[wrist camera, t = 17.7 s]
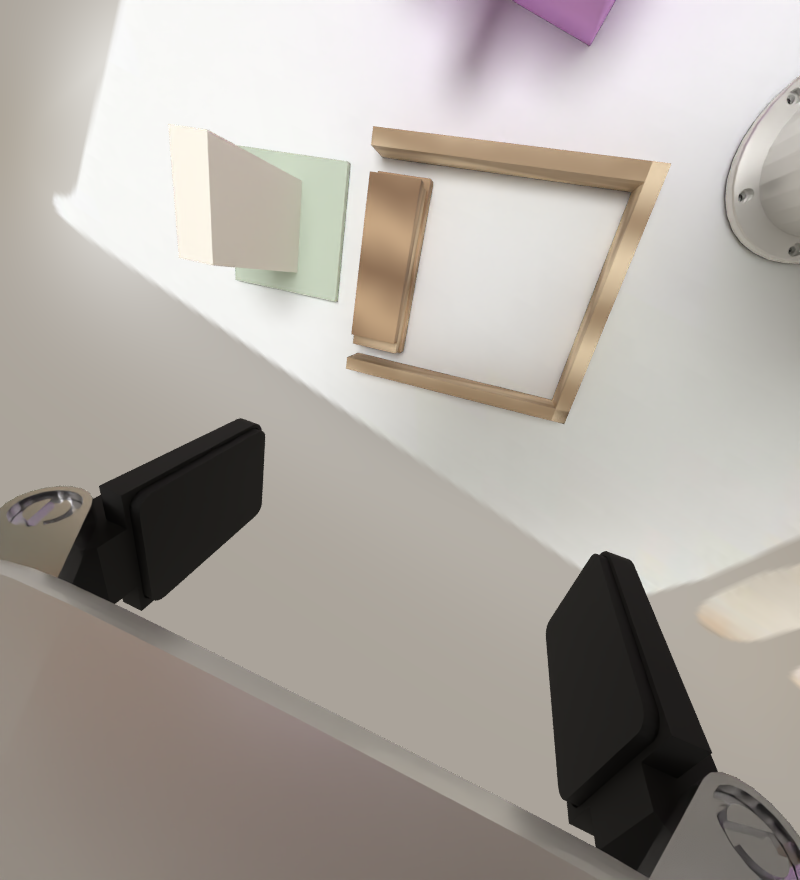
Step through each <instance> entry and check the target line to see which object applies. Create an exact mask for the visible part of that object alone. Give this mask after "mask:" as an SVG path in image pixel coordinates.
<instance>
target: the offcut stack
mask: <svg viewBox="0 0 800 880" xmlns="http://www.w3.org/2000/svg"><path fill="white" fill-rule="evenodd" d="M432 187H433V181H432V180H431V179H428V178H421V177H415V176H408V175H401V174H394V173H387V172H381V171H378V173H377V172H370V176H369V185H368V193H367V202H366V211H365V220H364V228H363V237H362V246H361V255H360V264H359V272H358V281H357V290H356V299H355V308H354V316H353V325H352V334H353V335H354V339H353V343H354V344H358V345H362V346H366V347H370V348H375V349H379V350H383V351H387V352H391V353H397V352H398V353H401V352H403V349H404V344H405V338H406V333H407V327H408V321H409V316H410V310H411V305H412V299H413V293H414V288H415V282H416V277H417V271H418V265H419V260H420V254H421V249H422V243H423V238H424V232H425V226H426V221H427V215H428V210H429V204H430V198H431V193H432Z"/></svg>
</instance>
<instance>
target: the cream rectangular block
mask: <svg viewBox="0 0 800 880" xmlns="http://www.w3.org/2000/svg"><path fill="white" fill-rule="evenodd" d="M168 127H169V140H170V152H171V165H172V177H173V190H174V202H175V215H176V227H177V240H178V252H179V258H182V259H186V260H191V261H195V262H200V263H204V264H209V265H214V266H225V267H237V268H249V269H260V270H272V271H283V272H295V273H297V272H298V252H299V233H300V213H301V193H302V181H301V180H300V179H298V178H296V177H294V176H292V175H290V174H288V173H287V172H285V171H283V170H281V169H279V168H277V167H275V166H274V165H272V164H270V163H268V162H266V161H264V160H262V159H261V158H259V157H257V156H255V155H253V154H251V153H250V152H248V151H246V150H244V149H242V148H240V147H238V146H237V145H235V144H233V143H231V142H229V141H227V140H225V139H224V138H222V137H220V136H218V135H216V134H214V133H212V132H211V131H209V130H206V129H200V128H193V127H186V126H179V125H172V124H168Z"/></svg>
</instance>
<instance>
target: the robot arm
mask: <svg viewBox="0 0 800 880" xmlns="http://www.w3.org/2000/svg"><path fill="white" fill-rule="evenodd" d="M787 98H789V99H790V104H788V102H787ZM739 194H740V195H742V200H741V201H739V199H738V197H739ZM725 201H726V210H727V217H728V220H729V222H730V225H731V228H732V230H733V232H734V233H735V235H736V236H737V238H738V239H739V240H740V242H741V243H742V244H743V245H744V246H746V247H747V248H748V249H749V250H751V251H752V252H753V253H755V254H757V255H759V256H761V257H764V258H766V259H768V260H772V261H777V262H782V263H795V264H800V76H799V77H797V78H796V79H795V80H793V81H792V82H791V83H790V84H789V85H788V86H787V87H786V88H785V89H784V90H783V91H781V92H780V93H779V94H778V95H777V96H776V97H775V98H774V99H773V100H772V101H771V102H770V103H769V105H768V106H767V107H766V108H765V109H764V110H763V112H762V113H761V114H760V115H759V116H758V117H757V119H756V120H755V122H754V123H753V125H752V126H751V128H750V129H749V131H748V132H747V134H746V135H745V137H744V138H743V140H742V142H741V144H740V146H739V148H738V151H737V153H736V155H735V157H734V159H733V162H732V165H731V169H730V172H729V176H728V179H727V186H726V196H725ZM789 248H791V252H790V253H788V252H789ZM264 449H265V434H264V432H263V431H262V430H261V427H260V425H258V424H255V423H253V422H250V421H247V420H244V419H241V418H240V419H237V420H235V421H233V422H230V423H228V424H226V425H224V426H222V427H220V428H218V429H216V430H214V431H212V432H210V433H208V434H206V435H203V436H201V437H199V438H197V439H195V440H193V441H191V442H189V443H187V444H185V445H183V446H181V447H179V448H177V449H175V450H173V451H171V452H169V453H166V454H164V455H162V456H160V457H158V458H156V459H154V460H152V461H150V462H148V463H146V464H143V465H142V466H139V467H137V468H135V469H133V470H131V471H129V472H127V473H125V474H123V475H121V476H119V477H117V478H115V479H113V480H110V481H108V482H106V483H104V484H102V485H100V486H99V488H100V493H101V495H100V496H98V497H96V498H94V499H93V498H92V496H91V494H90V493H89V492H88V491H86V490H84V489H82V488H77V487H73V486H56V487H47V488H42V489H38V490H34V491H30V492H28V493H25V494H22V495H20V496H17V497H15V498H14V499H12V500H10V501H8V502H7V503H5V504H4V505H3V506H2V507H1V508H0V880H800V837H799V835H798V834H797V833H796V831H795V830H794V829H793V827H792V826H791V824H790V823H789V822H788V821H787V820H786V819H785V818H784V817H783V816H782V814H781V813H780V812H779V811H778V810H777V809H776V808H775V807H774V806H773V805H772V804H771V803H770V802H769V801H768V800H766V798H764V797H763V796H762V795H761V794H760V793H758V792H757V791H756V790H755V789H754V788H753V787H751V786H749V785H748V784H746V783H744V782H743V781H741V780H740V779H738V778H737V777H734V776H731V775H729V774H726V773H723V772H718V771H717V768H716V766H715V764H714V761H713V759H712V756H711V753H712V752H711V749H710V747H709V744H708V742H707V739H706V737H705V735H704V733H703V730H702V727H701V725H700V723H699V720H698V718H697V715H696V713H695V711H694V708H693V706H692V703H691V701H690V699H689V696H688V694H687V692H686V689H685V687H684V684H683V682H682V679H681V677H680V675H679V672H678V670H677V667H676V665H675V663H674V660H673V658H672V656H671V653H670V651H669V648H668V646H667V643H666V641H665V639H664V636H663V634H662V631H661V629H660V627H659V624H658V622H657V620H656V617H655V615H654V612H653V610H652V607H651V605H650V602H649V600H648V598H647V595H646V593H645V590H644V588H643V586H642V583H641V581H640V578H639V576H638V574H637V571H636V569H635V566H634V564H633V563H632V561H631V560H629V559H626V558H623V557H621V556H618V555H615V554H612V553H610V552H607V551H604V552H602V553H601V554H600V555H598V554H593V555H592V556H591V557H590V559H589V560H588V562H587V563H586V565H585V567H584V568H583V570H582V571H581V573H580V574H579V576H578V578H577V579H576V580H575V582H574V584H573V585H572V587H571V588H570V590H569V591H568V593H567V594H566V596H565V598H564V599H563V601H562V602H561V604H560V605H559V607H558V608H557V610H556V611H555V613H554V614H553V616H552V617H551V619H550V621H549V622H548V625H547V629H546V642H547V655H548V668H549V680H550V692H551V704H552V717H553V729H554V741H555V753H556V766H557V777H558V788H559V793H560V796H561V797H562V799H563V800H565V801H567V808H568V818H569V824H571V825H573V826H575V827H577V828H579V829H581V830H583V831H585V832H587V833H589V834H591V835H593V836H594V838H595V845H596V847H594V846H592V845H590V844H588V843H586V842H584V841H583V840H581V839H578V838H577V837H575V836H573V835H571V834H569V833H567V832H566V831H564V830H562V829H560V828H558V827H556V826H554V825H552V824H550V823H549V822H547V821H545V820H543V819H541V818H539V817H537V816H535V815H533V814H531V813H530V812H528V811H526V810H524V809H522V808H520V807H518V806H516V805H515V804H513V803H511V802H509V801H507V800H505V799H503V798H501V797H499V796H497V795H495V794H493V793H491V792H489V791H487V790H485V789H484V788H482V787H480V786H478V785H476V784H473V783H472V782H470V781H468V780H466V779H464V778H462V777H460V776H458V775H456V774H454V773H452V772H450V771H448V770H446V769H444V768H442V767H440V766H438V765H436V764H434V763H432V762H430V761H428V760H426V759H424V758H422V757H420V756H419V755H416V754H415V753H413V752H410V751H409V750H407V749H405V748H403V747H401V746H399V745H397V744H395V743H393V742H391V741H389V740H387V739H385V738H383V737H381V736H379V735H377V734H375V733H373V732H371V731H369V730H367V729H365V728H363V727H361V726H359V725H357V724H355V723H353V722H351V721H349V720H347V719H345V718H343V717H341V716H339V715H337V714H335V713H333V712H331V711H329V710H327V709H325V708H323V707H321V706H319V705H317V704H315V703H313V702H311V701H309V700H307V699H305V698H303V697H301V696H299V695H297V694H295V693H293V692H291V691H289V690H287V689H285V688H283V687H281V686H279V685H277V684H275V683H273V682H271V681H269V680H267V679H265V678H263V677H261V676H259V675H257V674H255V673H253V672H251V671H249V670H247V669H245V668H243V667H241V666H239V665H237V664H235V663H233V662H231V661H229V660H227V659H225V658H223V657H221V656H219V655H217V654H215V653H213V652H211V651H209V650H207V649H205V648H203V647H201V646H199V645H197V644H195V643H193V642H191V641H189V640H187V639H185V638H183V637H181V636H179V635H177V634H175V633H173V632H171V631H168V630H167V629H165V628H162V627H161V626H158V625H157V624H154V623H152V622H150V621H148V620H146V619H144V618H142V617H140V616H138V615H136V614H134V613H132V612H130V611H128V610H126V609H124V608H122V607H120V606H118V605H115V603H117V602H118V601H119V600H121V599H122V598H123V602H125V603H127V604H129V605H131V606H133V607H135V608H137V609H139V610H141V611H142V610H143V609H144V608H146V607H147V606H148V605H149V604H150V603H151V602H152V601H154V600H155V601H156V600H160V599H162V598H163V597H165V596H166V595H167V594H168V593H169V592H170V591H171V590H173V589H174V588H175V587H176V586H177V585H178V584H179V583H180V582H182V581H183V580H184V579H185V578H186V577H187V576H188V575H189V574H191V573H192V572H193V571H194V570H195V569H196V568H197V567H198V566H200V565H201V564H202V563H203V562H204V561H205V560H206V559H207V558H208V557H210V556H211V555H212V554H213V553H214V552H215V551H216V550H218V549H219V548H220V547H221V546H222V545H223V544H224V543H226V542H227V541H228V540H229V539H230V538H231V537H232V536H233V535H234V534H235V533H237V532H238V531H239V530H240V529H241V528H242V527H243V526H245V525H246V524H247V523H248V522H249V521H250V520H251V519H253V518H254V517H255V516H256V515H257V514H258V512H259V510H260V508H261V505H262V489H263V470H264Z"/></svg>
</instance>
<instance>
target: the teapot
mask: <svg viewBox="0 0 800 880" xmlns="http://www.w3.org/2000/svg"><path fill="white" fill-rule="evenodd" d="M512 1H514V2H515V3H517V4H519V5H521V6H522V7H524V8H526V9H527V10H529V11H531V12H532V13H534V14H536V15H538V16H539V17H541V18H543V19H544V20H546V21H548V22H550V23H551V24H553V25H555V26H556V27H558V28H560V29H561V30H563V31H565V32H567V33H568V34H570V35H572V36H573V37H575V38H577V39H579V40H580V41H582V42H584V43H585V44H587V45H589V46H590V45H591V43H592V42H593V40H594V38H595V36H596V35H597V33H598V31H599V29H600V27H601V26H602V24H603V22H604V20H605V18H606V17H607V15H608V13H609V11H610V10H611V8H612V6H613V4H614V2H615V1H616V0H512Z"/></svg>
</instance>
